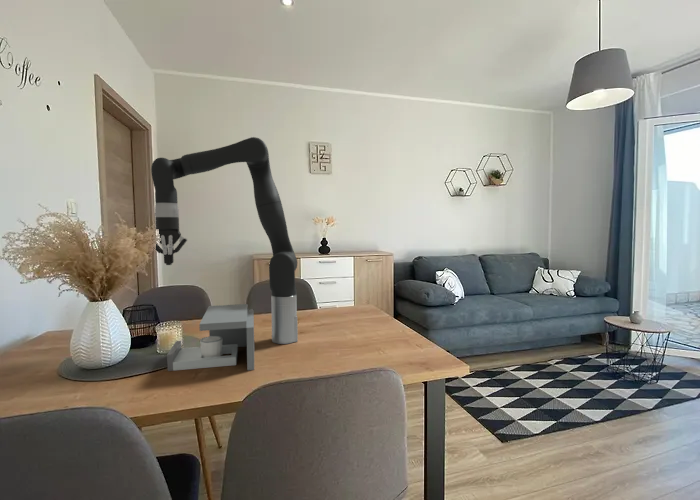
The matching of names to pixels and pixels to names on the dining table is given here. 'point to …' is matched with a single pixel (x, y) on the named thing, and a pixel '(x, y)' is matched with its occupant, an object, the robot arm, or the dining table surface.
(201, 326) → the grey shelf
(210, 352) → the shot glass
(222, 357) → the grey flat bracket
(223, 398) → the dining table surface
